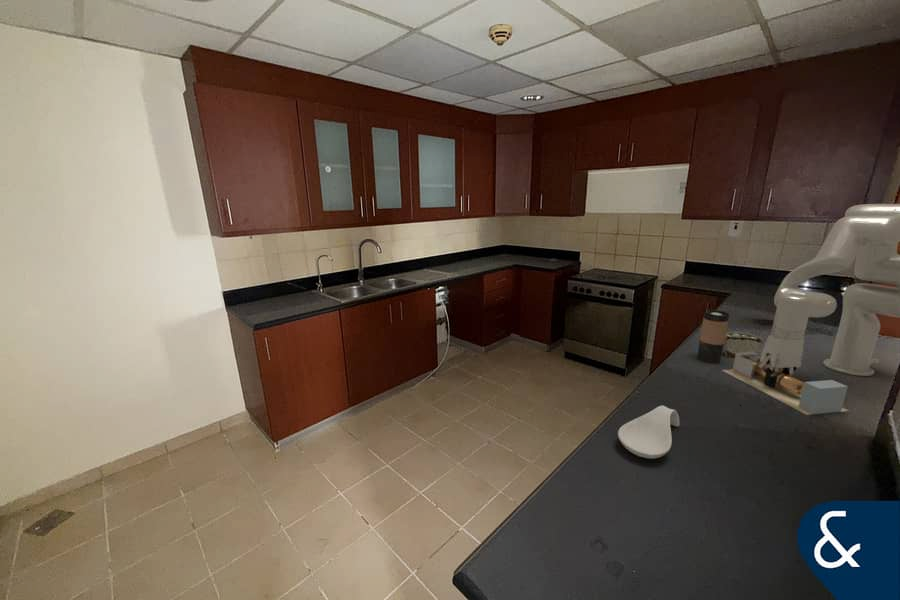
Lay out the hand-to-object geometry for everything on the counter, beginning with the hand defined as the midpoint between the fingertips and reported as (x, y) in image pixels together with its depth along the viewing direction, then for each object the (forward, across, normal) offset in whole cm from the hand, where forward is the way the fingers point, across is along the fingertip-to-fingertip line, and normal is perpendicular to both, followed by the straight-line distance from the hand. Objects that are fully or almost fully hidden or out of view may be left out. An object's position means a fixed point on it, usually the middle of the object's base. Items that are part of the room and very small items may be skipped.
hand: (775, 385), depth 118 cm
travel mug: (+2, +4, -23) cm, 23 cm away
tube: (-1, 0, -1) cm, 2 cm away
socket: (+1, 0, +13) cm, 13 cm away
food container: (+2, -10, -25) cm, 27 cm away
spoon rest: (+2, +56, +19) cm, 59 cm away
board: (+2, 0, +1) cm, 2 cm away
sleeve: (+1, 0, -9) cm, 9 cm away
